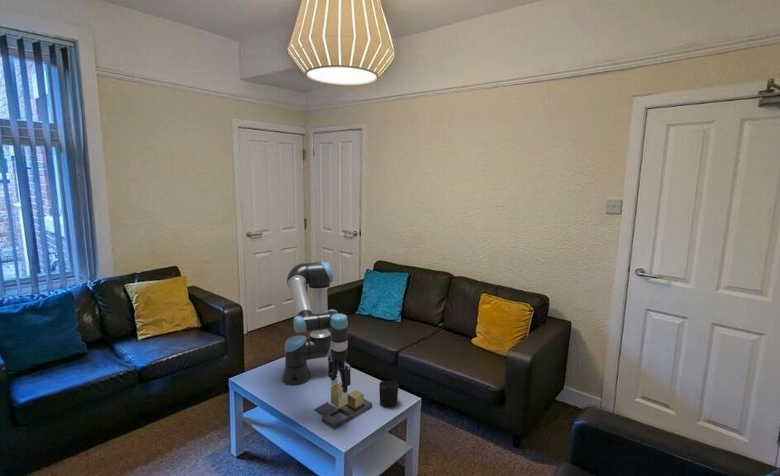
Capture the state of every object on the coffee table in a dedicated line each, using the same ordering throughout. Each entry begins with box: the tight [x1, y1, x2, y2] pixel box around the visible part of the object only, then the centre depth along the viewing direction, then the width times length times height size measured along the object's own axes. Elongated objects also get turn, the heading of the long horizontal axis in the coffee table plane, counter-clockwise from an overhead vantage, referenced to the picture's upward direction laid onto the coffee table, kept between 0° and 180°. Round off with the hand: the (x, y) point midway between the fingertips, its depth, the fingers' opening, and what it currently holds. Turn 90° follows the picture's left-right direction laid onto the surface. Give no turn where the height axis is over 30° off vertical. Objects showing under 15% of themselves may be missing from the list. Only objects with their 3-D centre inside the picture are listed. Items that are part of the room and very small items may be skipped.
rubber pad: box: [313, 402, 338, 417], centre depth 189 cm, size 8×8×1 cm
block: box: [347, 389, 365, 411], centre depth 190 cm, size 6×6×8 cm
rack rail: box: [321, 398, 373, 430], centre depth 186 cm, size 9×24×2 cm, turn 138°
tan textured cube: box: [330, 382, 349, 408], centre depth 182 cm, size 6×6×8 cm
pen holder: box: [378, 380, 399, 409], centre depth 195 cm, size 9×9×10 cm
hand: (339, 395), depth 182 cm, fingers closed on tan textured cube, 6 cm apart
